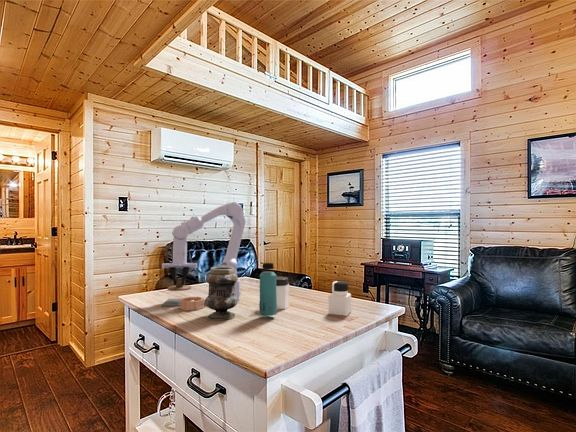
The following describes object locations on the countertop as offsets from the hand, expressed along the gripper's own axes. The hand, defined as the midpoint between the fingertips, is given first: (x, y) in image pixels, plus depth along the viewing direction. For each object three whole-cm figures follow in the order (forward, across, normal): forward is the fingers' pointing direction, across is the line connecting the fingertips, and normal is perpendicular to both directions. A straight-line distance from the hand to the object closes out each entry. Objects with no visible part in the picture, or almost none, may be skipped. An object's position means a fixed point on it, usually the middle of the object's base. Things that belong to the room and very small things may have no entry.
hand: (179, 284), depth 142 cm
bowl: (+8, +7, -9) cm, 14 cm away
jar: (+8, +42, -11) cm, 44 cm away
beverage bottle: (+8, +37, -26) cm, 46 cm away
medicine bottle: (+8, +65, -22) cm, 69 cm away
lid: (+2, 0, 0) cm, 2 cm away
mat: (+8, 0, 0) cm, 8 cm away
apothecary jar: (+8, +20, -23) cm, 32 cm away
